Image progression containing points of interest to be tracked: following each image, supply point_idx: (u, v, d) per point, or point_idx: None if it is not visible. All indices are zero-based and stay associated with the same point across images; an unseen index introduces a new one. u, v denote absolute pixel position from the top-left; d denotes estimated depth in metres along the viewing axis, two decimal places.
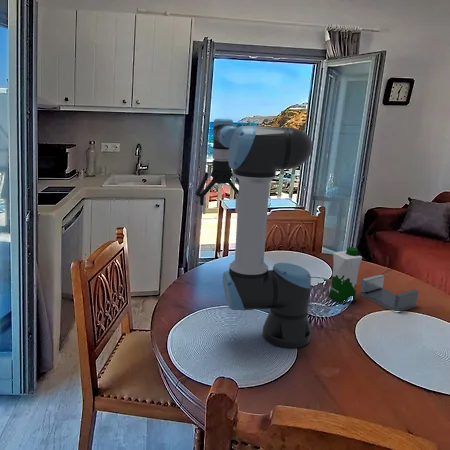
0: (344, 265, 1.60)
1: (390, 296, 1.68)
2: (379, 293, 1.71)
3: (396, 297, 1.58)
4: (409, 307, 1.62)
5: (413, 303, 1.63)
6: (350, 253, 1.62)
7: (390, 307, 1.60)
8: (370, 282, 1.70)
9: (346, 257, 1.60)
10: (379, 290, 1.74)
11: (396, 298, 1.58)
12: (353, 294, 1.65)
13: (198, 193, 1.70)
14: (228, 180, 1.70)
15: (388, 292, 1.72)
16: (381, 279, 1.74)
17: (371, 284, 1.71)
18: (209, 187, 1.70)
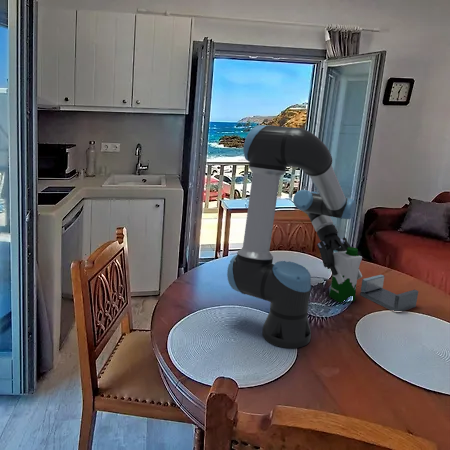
0: (344, 265, 1.60)
1: (390, 296, 1.68)
2: (379, 293, 1.71)
3: (396, 297, 1.58)
4: (409, 307, 1.62)
5: (413, 303, 1.63)
6: (350, 253, 1.62)
7: (390, 307, 1.60)
8: (370, 282, 1.70)
9: (346, 257, 1.60)
10: (379, 290, 1.74)
11: (396, 298, 1.58)
12: (353, 294, 1.65)
13: (328, 261, 1.62)
14: (340, 243, 1.68)
15: (388, 292, 1.72)
16: (381, 279, 1.74)
17: (371, 284, 1.71)
18: (332, 253, 1.65)
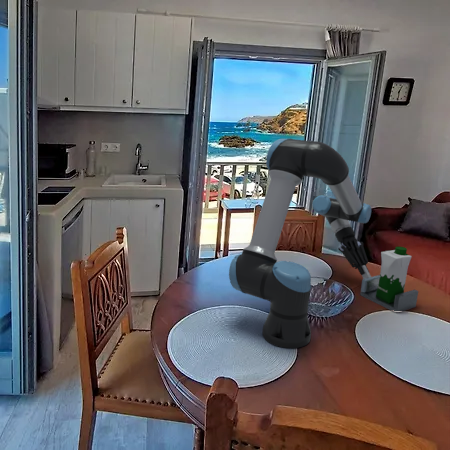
0: (393, 264, 1.58)
1: None
2: None
3: (396, 297, 1.58)
4: (409, 307, 1.62)
5: (413, 303, 1.63)
6: (399, 252, 1.61)
7: (390, 307, 1.60)
8: (370, 282, 1.70)
9: (396, 256, 1.59)
10: None
11: (396, 298, 1.58)
12: None
13: (356, 262, 1.75)
14: (356, 245, 1.80)
15: None
16: None
17: (371, 284, 1.71)
18: (355, 254, 1.78)
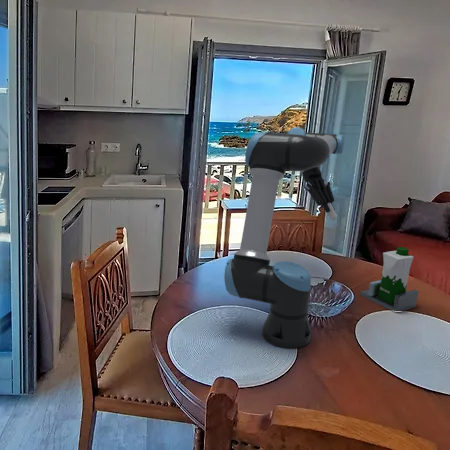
0: (396, 265, 1.58)
1: None
2: None
3: (396, 297, 1.58)
4: (409, 307, 1.62)
5: (413, 303, 1.63)
6: (401, 253, 1.60)
7: (390, 307, 1.60)
8: (378, 285, 1.67)
9: (398, 257, 1.58)
10: None
11: (396, 298, 1.58)
12: None
13: (321, 199, 1.75)
14: (322, 184, 1.79)
15: None
16: None
17: (379, 288, 1.68)
18: (321, 193, 1.77)
